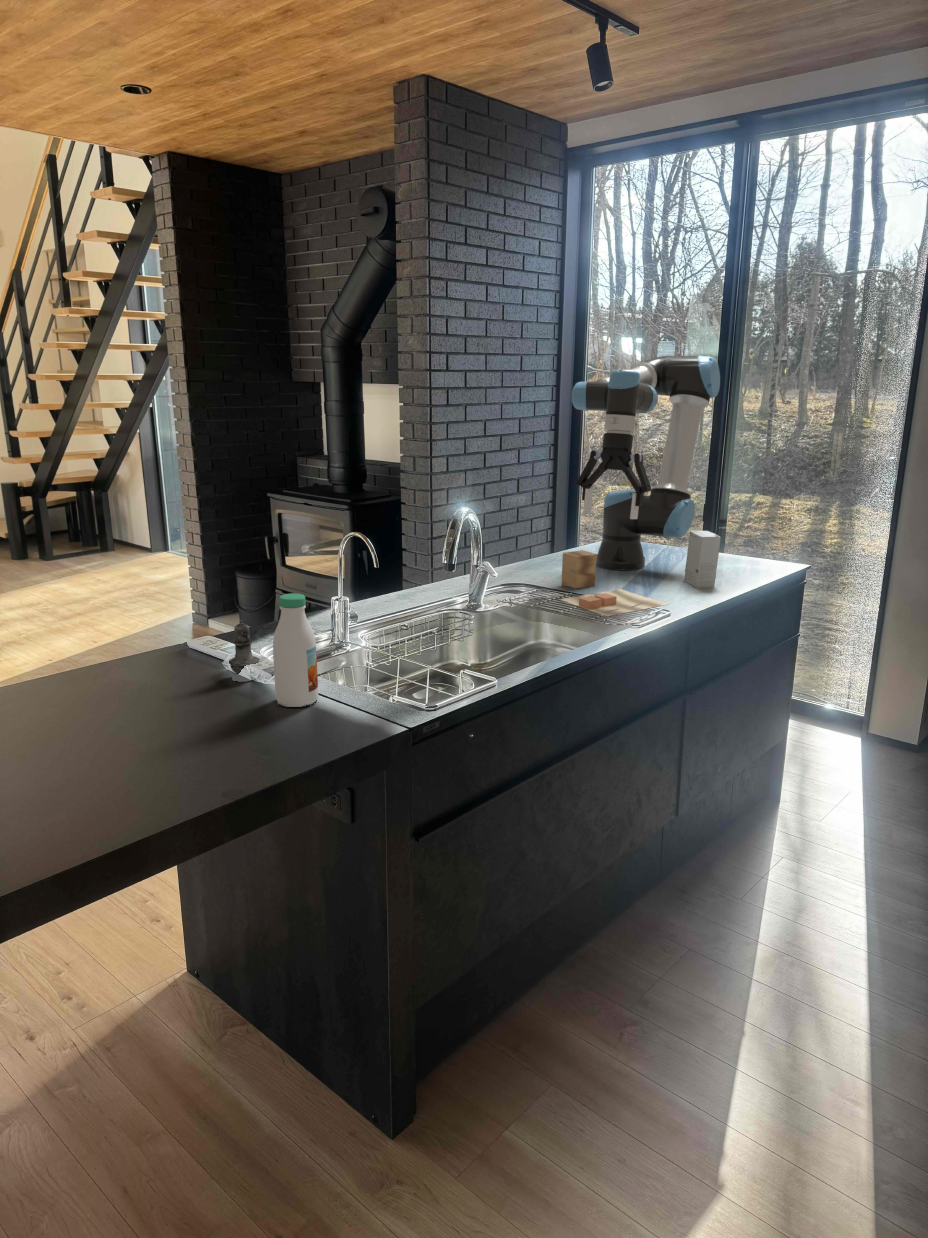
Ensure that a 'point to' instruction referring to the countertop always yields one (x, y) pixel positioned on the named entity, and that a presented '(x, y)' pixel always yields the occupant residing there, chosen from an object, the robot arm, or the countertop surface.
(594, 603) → the salmon orange square block
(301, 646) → the milk bottle
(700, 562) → the skincare box
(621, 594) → the birch board
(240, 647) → the dark grey chess piece
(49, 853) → the countertop surface
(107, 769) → the countertop surface
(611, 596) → the terracotta square block
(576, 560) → the cardboard box
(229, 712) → the countertop surface
